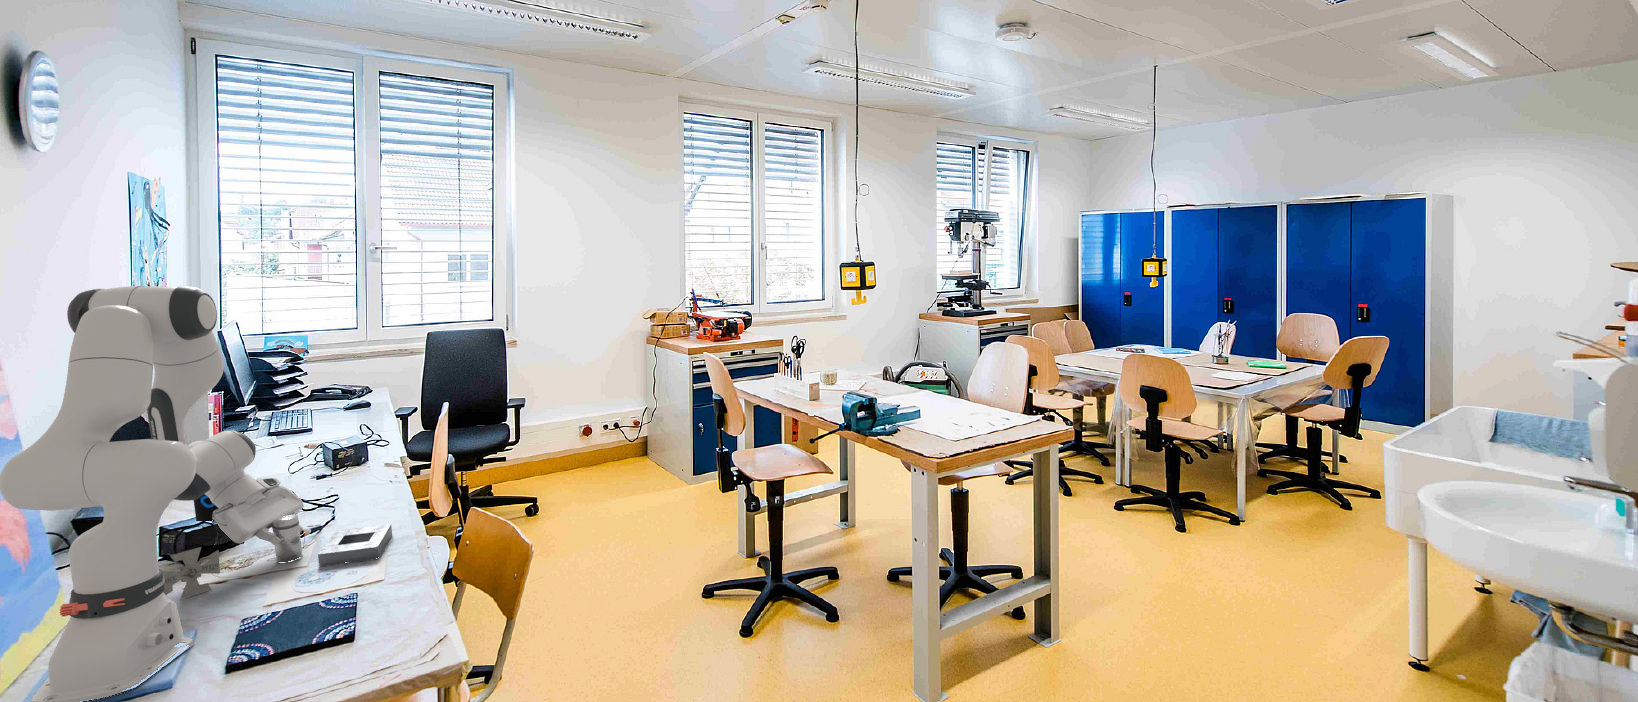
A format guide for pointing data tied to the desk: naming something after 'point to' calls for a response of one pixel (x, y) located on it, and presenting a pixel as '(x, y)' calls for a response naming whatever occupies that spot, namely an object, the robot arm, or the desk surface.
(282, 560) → the cylinder
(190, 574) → the cross
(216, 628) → the desk surface
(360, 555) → the grey rectangular frame
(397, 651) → the desk surface
